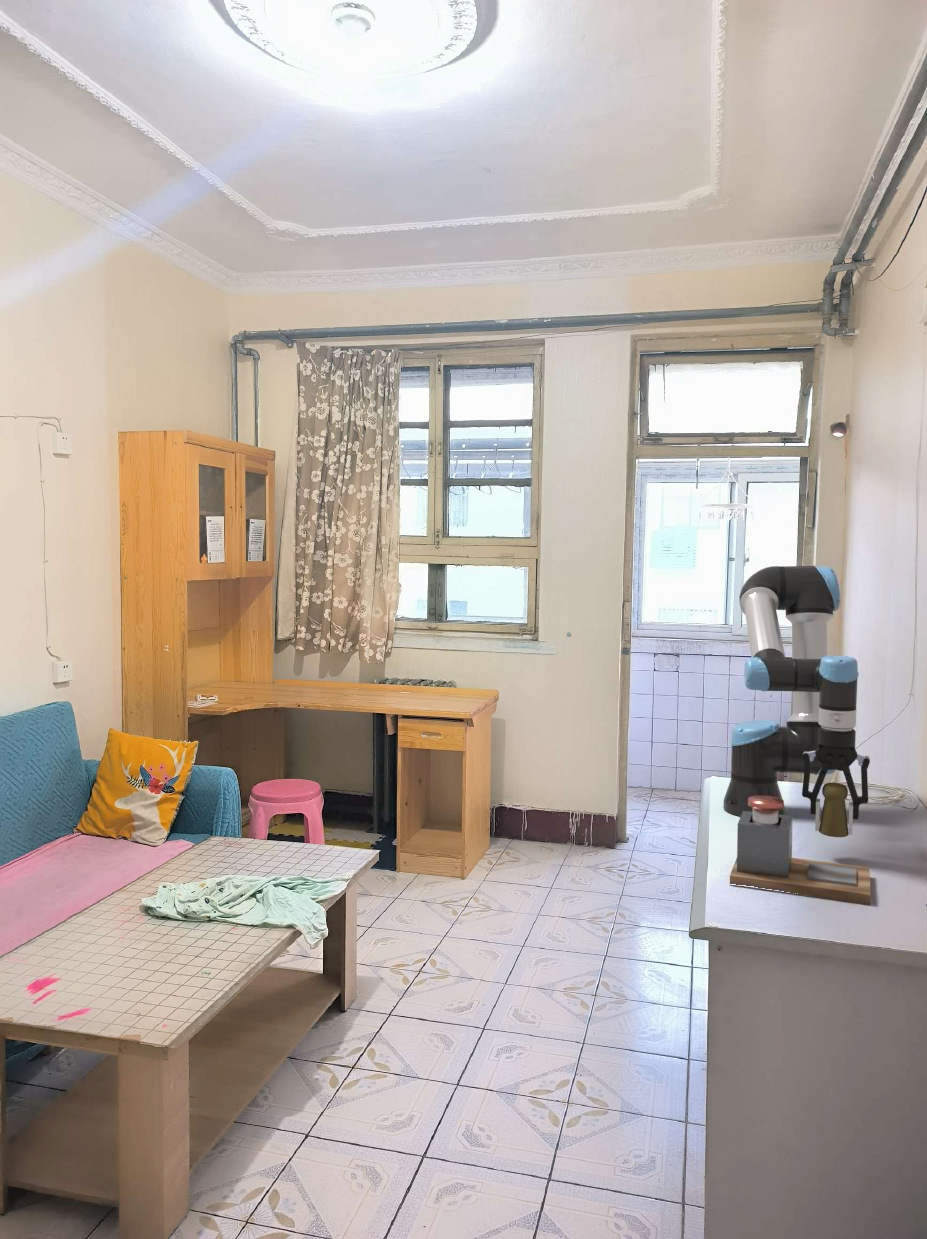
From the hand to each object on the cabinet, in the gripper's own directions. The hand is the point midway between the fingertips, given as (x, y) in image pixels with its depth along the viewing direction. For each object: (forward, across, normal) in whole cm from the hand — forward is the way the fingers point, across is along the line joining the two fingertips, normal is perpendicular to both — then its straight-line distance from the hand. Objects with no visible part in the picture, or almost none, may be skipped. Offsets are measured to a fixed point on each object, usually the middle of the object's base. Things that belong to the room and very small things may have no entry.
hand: (833, 830), depth 194 cm
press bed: (+6, -6, -17) cm, 19 cm away
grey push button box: (+4, -13, -17) cm, 21 cm away
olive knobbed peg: (+1, 0, 0) cm, 1 cm away
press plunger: (-1, -13, -17) cm, 21 cm away
